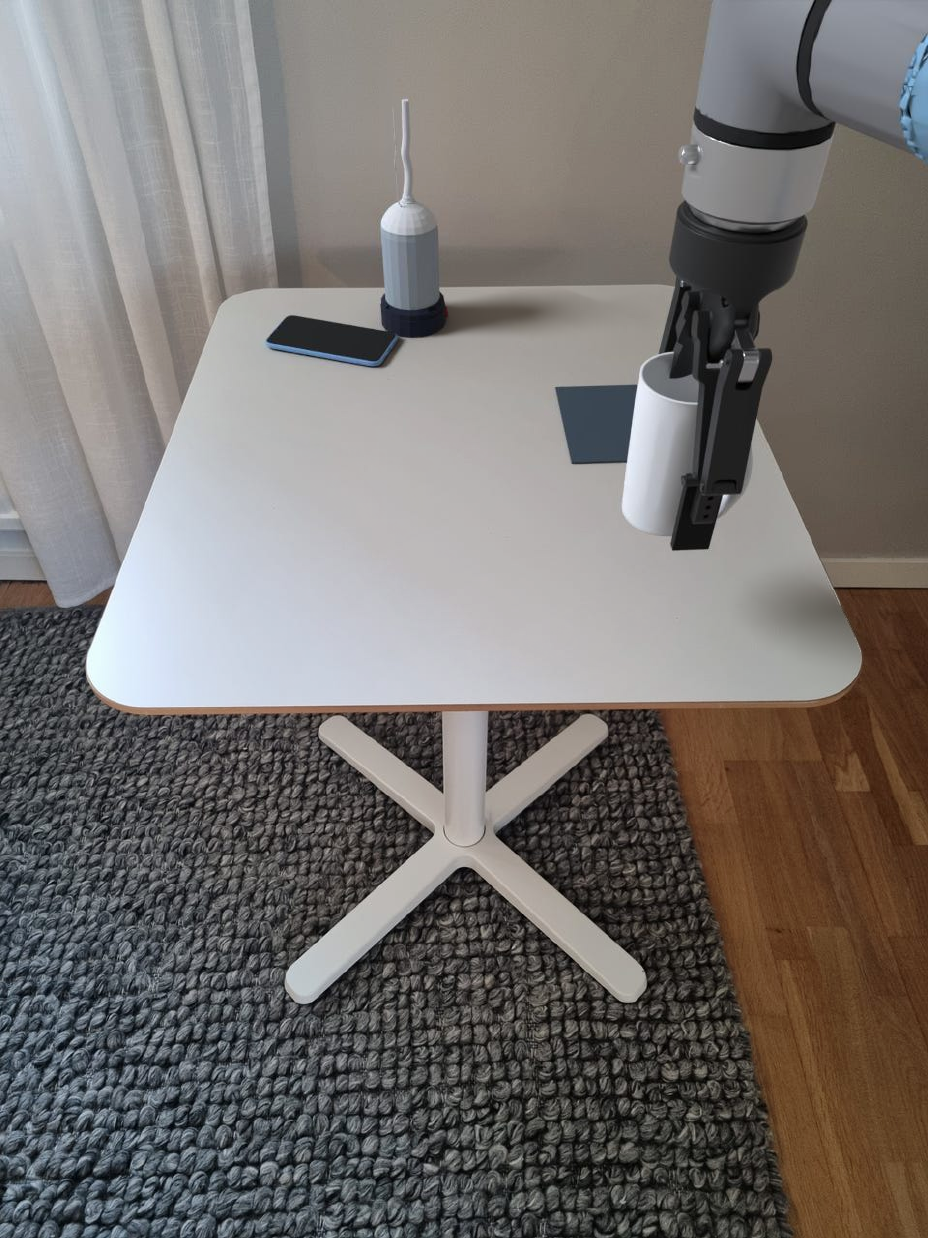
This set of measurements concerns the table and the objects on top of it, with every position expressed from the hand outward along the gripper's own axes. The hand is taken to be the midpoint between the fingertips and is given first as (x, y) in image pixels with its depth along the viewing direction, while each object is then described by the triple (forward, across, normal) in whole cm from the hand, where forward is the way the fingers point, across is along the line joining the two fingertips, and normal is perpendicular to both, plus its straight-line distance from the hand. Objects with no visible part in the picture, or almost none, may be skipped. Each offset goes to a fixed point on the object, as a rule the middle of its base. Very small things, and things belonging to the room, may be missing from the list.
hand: (676, 507), depth 67 cm
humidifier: (+11, -51, -20) cm, 56 cm away
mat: (+12, -28, +3) cm, 31 cm away
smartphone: (+11, -46, -30) cm, 57 cm away
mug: (+1, 0, 0) cm, 1 cm away
